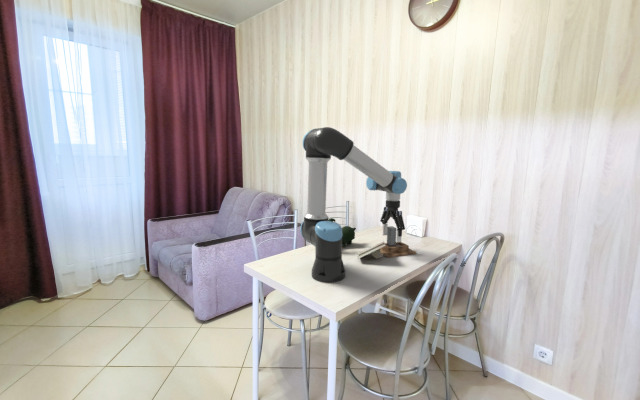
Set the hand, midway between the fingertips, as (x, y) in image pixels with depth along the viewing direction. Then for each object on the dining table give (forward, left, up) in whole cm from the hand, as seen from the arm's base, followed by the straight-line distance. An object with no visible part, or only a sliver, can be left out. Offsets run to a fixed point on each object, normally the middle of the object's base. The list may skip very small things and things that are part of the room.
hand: (391, 238), depth 162 cm
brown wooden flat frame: (+2, 0, -8) cm, 8 cm away
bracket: (+3, 0, -7) cm, 7 cm away
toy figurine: (-22, +19, -8) cm, 30 cm away
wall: (-15, -5, -8) cm, 18 cm away
